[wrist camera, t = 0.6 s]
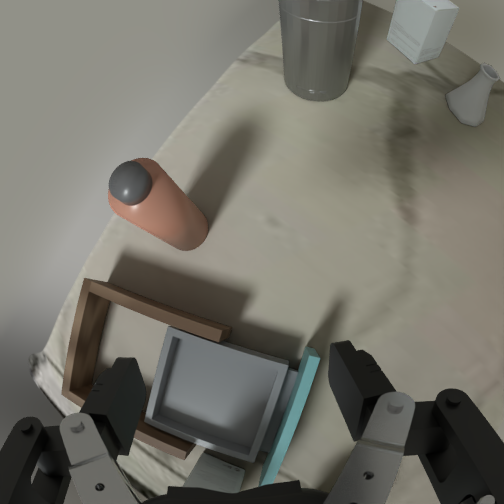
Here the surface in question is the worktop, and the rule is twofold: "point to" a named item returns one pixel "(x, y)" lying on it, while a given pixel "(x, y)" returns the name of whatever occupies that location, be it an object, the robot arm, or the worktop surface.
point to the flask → (473, 96)
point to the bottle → (156, 204)
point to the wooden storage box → (88, 340)
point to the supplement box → (421, 27)
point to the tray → (229, 397)
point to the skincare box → (215, 475)
